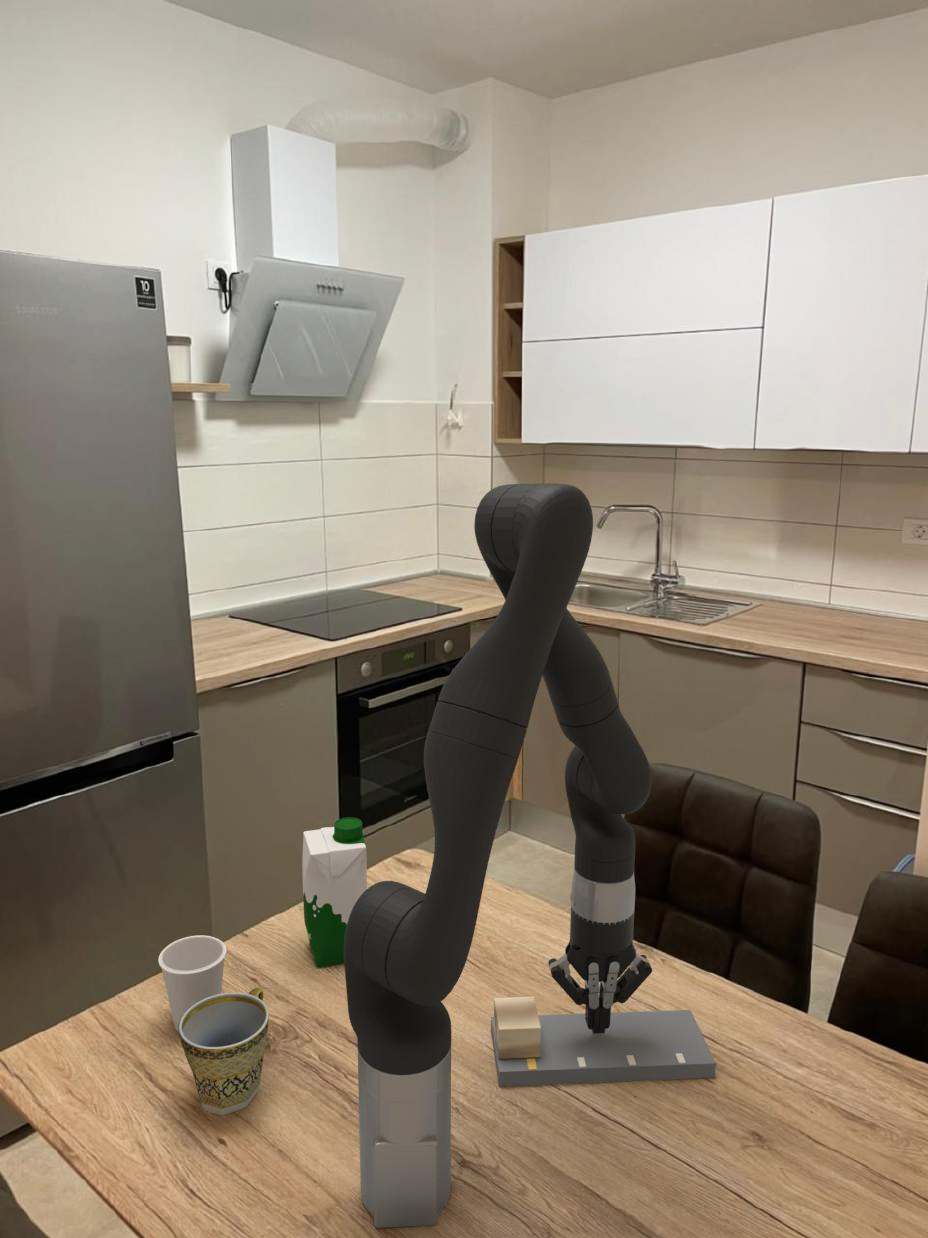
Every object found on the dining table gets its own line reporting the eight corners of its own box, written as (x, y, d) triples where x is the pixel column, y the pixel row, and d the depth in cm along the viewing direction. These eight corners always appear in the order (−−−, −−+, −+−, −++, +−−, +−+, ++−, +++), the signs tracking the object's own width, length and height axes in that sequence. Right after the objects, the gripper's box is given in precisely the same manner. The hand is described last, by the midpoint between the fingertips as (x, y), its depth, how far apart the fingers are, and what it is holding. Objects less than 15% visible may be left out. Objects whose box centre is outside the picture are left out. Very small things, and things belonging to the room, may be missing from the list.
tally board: (714, 1077, 111) (715, 1062, 110) (498, 1086, 109) (499, 1071, 109) (689, 1023, 121) (690, 1009, 120) (490, 1030, 119) (491, 1016, 118)
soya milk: (373, 962, 133) (370, 834, 129) (310, 973, 131) (305, 843, 126) (361, 930, 141) (358, 808, 137) (301, 939, 139) (297, 816, 134)
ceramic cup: (242, 1136, 102) (238, 1057, 99) (165, 1113, 105) (159, 1036, 103) (300, 1059, 114) (297, 987, 111) (229, 1041, 117) (225, 970, 114)
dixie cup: (168, 1050, 115) (163, 979, 113) (159, 1011, 122) (153, 943, 120) (236, 1031, 119) (232, 962, 116) (223, 994, 126) (219, 928, 124)
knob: (539, 1057, 111) (540, 1028, 110) (498, 1058, 111) (498, 1029, 110) (533, 1024, 117) (533, 996, 116) (493, 1026, 117) (494, 998, 116)
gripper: (553, 923, 106) (549, 1053, 110) (665, 918, 107) (658, 1047, 111) (542, 889, 114) (539, 1012, 118) (648, 885, 115) (641, 1007, 119)
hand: (597, 1029), depth 115 cm, fingers closed
